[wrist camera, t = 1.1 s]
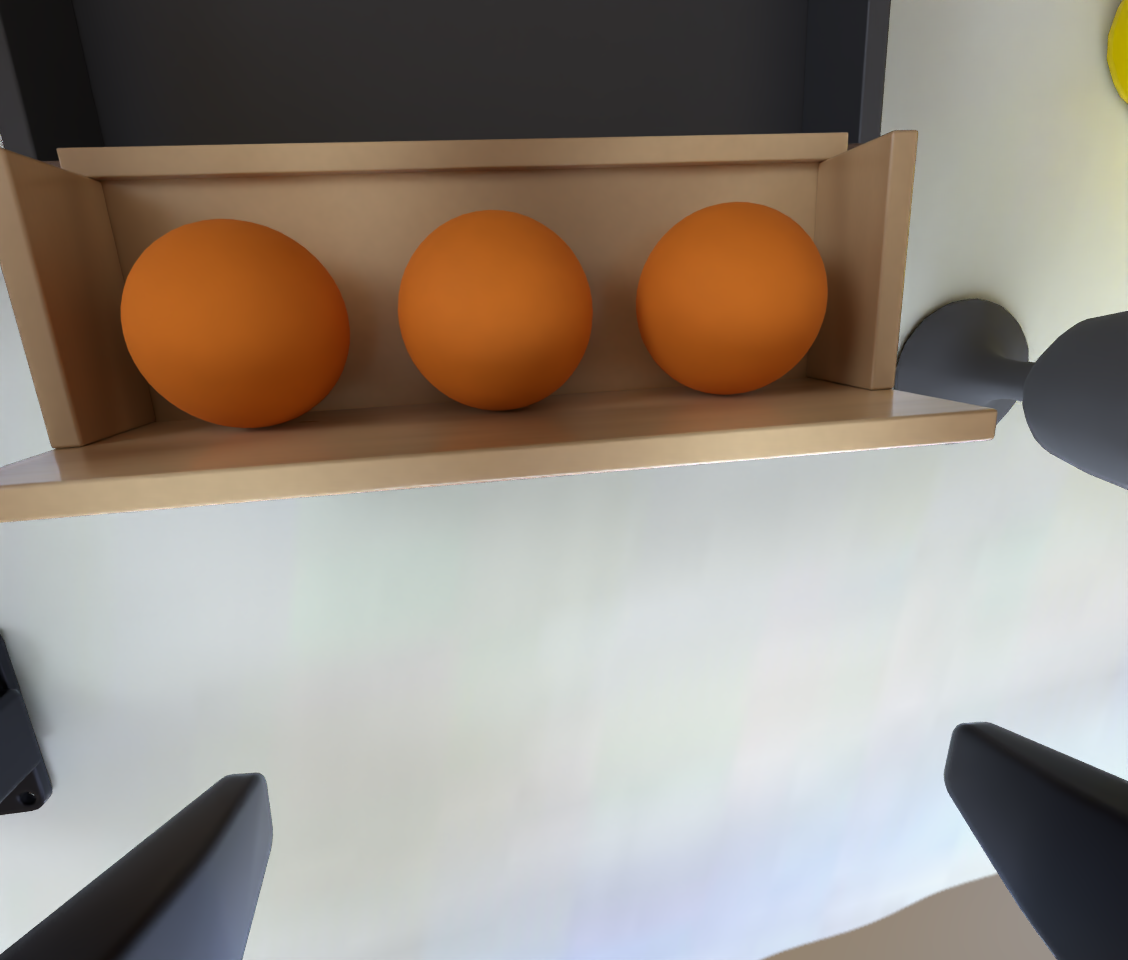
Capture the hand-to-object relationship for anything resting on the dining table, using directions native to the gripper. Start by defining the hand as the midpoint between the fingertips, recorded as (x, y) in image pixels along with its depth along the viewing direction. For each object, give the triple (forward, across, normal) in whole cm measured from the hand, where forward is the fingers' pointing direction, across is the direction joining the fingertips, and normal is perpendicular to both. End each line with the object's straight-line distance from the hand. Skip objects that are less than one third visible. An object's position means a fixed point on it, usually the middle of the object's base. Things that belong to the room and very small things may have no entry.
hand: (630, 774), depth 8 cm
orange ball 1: (+5, +6, -5) cm, 9 cm away
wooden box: (+7, +2, -6) cm, 10 cm away
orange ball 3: (+5, -3, -6) cm, 8 cm away
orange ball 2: (+5, +2, -6) cm, 8 cm away
